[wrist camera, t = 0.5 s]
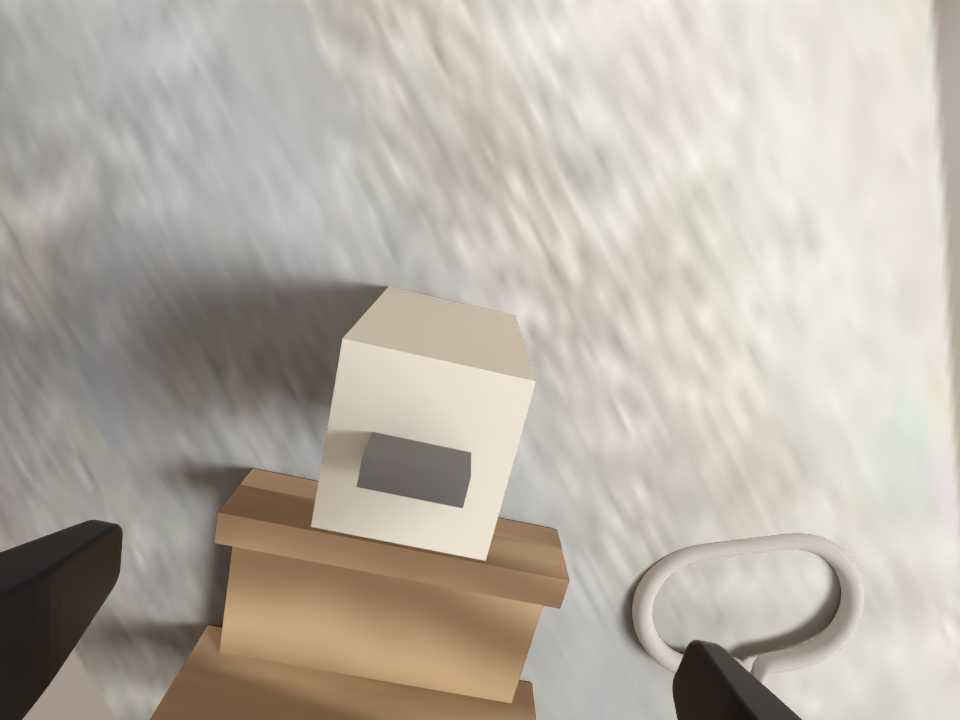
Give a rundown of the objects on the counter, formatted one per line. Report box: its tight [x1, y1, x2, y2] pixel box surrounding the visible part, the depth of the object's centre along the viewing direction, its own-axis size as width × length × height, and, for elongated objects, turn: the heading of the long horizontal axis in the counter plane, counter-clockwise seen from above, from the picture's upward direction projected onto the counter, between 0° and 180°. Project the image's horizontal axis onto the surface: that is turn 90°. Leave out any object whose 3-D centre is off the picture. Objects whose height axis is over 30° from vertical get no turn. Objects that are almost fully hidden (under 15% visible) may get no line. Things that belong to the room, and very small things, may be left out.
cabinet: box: [311, 287, 536, 561], centre depth 16 cm, size 5×4×8 cm
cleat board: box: [150, 469, 569, 720], centre depth 20 cm, size 9×14×6 cm, turn 77°
